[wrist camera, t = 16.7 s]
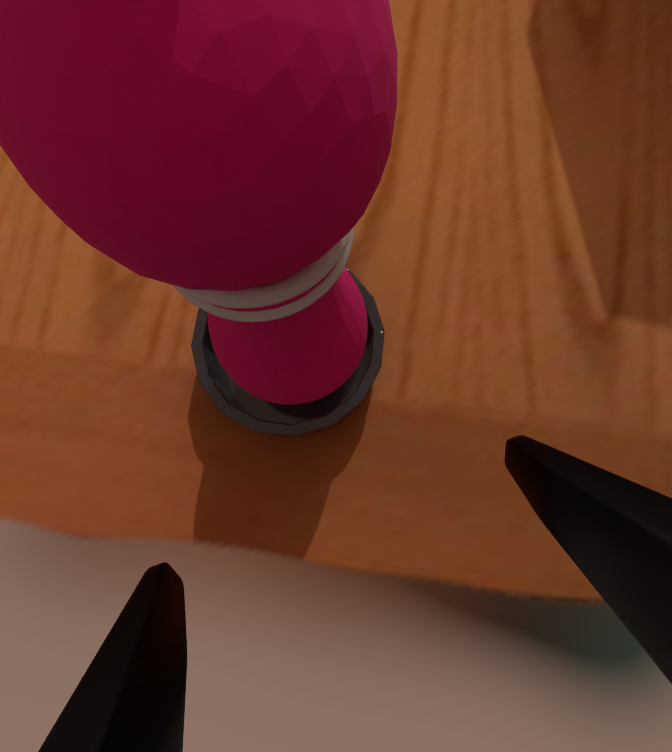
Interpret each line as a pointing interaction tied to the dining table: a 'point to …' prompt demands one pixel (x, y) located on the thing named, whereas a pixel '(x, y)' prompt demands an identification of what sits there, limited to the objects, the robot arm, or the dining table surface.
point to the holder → (286, 416)
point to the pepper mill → (215, 159)
